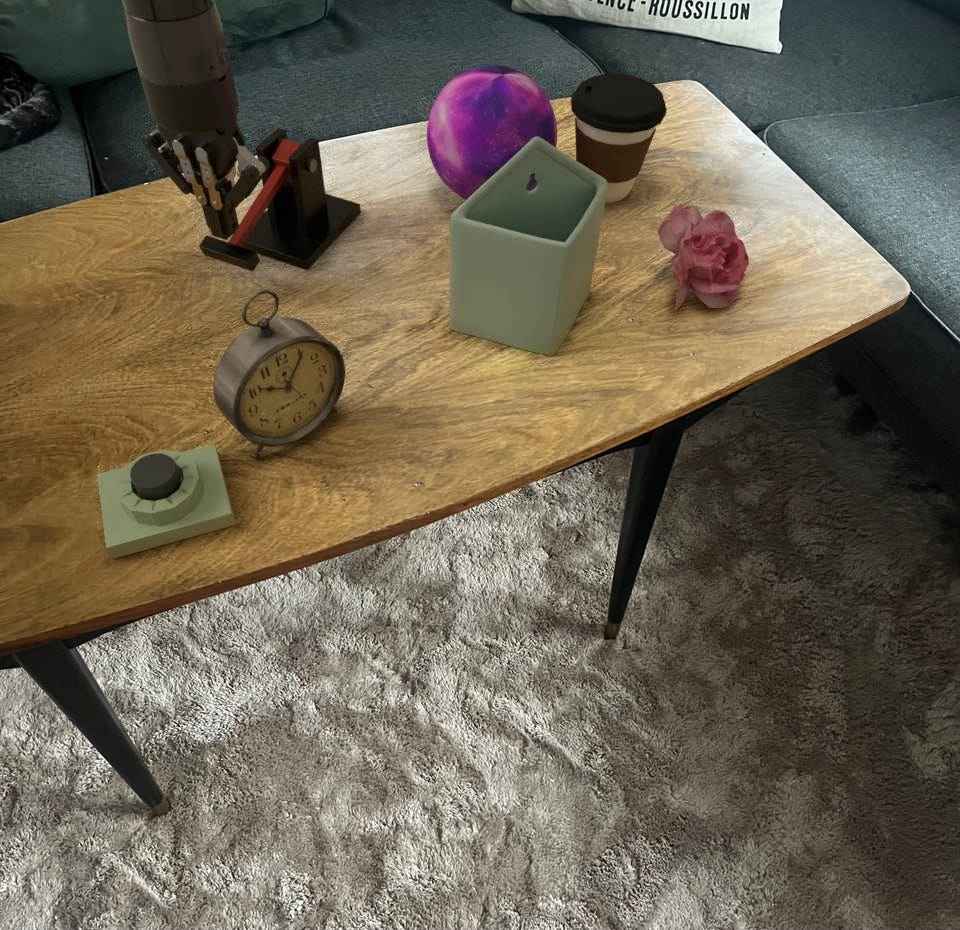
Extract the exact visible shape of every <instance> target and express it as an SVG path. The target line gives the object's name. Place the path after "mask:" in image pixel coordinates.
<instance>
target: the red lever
mask: <svg viewBox="0 0 960 930" xmlns="http://www.w3.org/2000/svg"><path fill="white" fill-rule="evenodd" d="M287 139H288V138H287ZM287 139H283V140H282V142H281V144H280V145H279V147H278V148H277V150H276V151H275V153H274V154H273V156H272V160H273V163H274V165H275V167H276V168H275V169H274V171H273V172H272V174H271V175H270V177H269V179H268V180H267V182H266V183H265V185H264V186H263V185H262V188H261V189H260V191H259V192H258V194H257V196H256V197H255V199H254V200H253V202H252V203H251V205H250V207H249V208H248V210H247V211H246V213H245V215H244V216H243V218H242V219H241V220H240V222H239V227H238V229H237V230H236V232H235V233H234V234H233V235H232V236H230V237H229V239H228V240H227V241H226V240H223V239H220V238H217V237H214V236H210V235H205V236H204V237H203V239H202V240H201V243H200V244H199V246H198V247H199V250H200V252H202V254H203V255H204V256H205V257H208V258H211V259H214V260H217V261H219V262H223V263H226V264H229V265H231V266H235V267H238V268H241V269H244V270H247V271H250V272H254V271H255V270H256V268H257V266H258V265H259V264H260V262H261V259H260V257H259V256H258V255H259V254H257V253H256V252H255V251H253V250H250V249H247V248H244V247H243V245H244V244H245V242H246V241H247V239H248V237H249V236H250V234H251V233H252V231H253V229H254V228H255V226H256V225H257V223H258V221H259V220H260V218H261V217H262V215H263V214H264V212H265V211H266V210H268V209H267V207H268V206H269V204H270V202H271V201H272V199H273V198H274V196H275V194H276V193H277V191H278V190H279V188H280V186H281V185H282V183H283V182H284V180H285V179H286V177H287V176H288V177H291V171H290V165H289V158H288V157H289V156H290V155H291V154H292V153H293V152H294V151H296V150H297V149H298V148H299V147H300V146H301V145H302V143H300V142H297V141H294V140H290V139H288V140H287Z"/></svg>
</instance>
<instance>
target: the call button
mask: <svg viewBox="0 0 960 930" xmlns="http://www.w3.org/2000/svg"><path fill="white" fill-rule="evenodd" d="M130 477H131V480H132V482H133V484H134V486H135V488H136V490H137V492H138V494H139V495H140V496H141V497H142V498H144V499H147V500H153V501H154V500H161V499H165V498H167V497H169V496H171V495H172V494H173V493H175V492H176V491H177V489H178V488H179V486H180V484H181V476H180V473H179V471H178V468H177V466H176V463H175V461H174V460H173V459H172V458H171V457H170V456H168V455H165V454H160V453H156V454H150V455H147V456H144V457H142V458H141V459H139V460H138V461H137V462H136V463H135V464H134V465H133V467H132V469H131V472H130Z"/></svg>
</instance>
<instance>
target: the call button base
mask: <svg viewBox="0 0 960 930" xmlns="http://www.w3.org/2000/svg"><path fill="white" fill-rule="evenodd" d="M156 453H160V454H165V455H168V456H170V457H171V458H172V459H173V460H174V461H175V463H176V466H177V468H178V471H179V473H180V476H181V484H180V486H179V488H178V489H177V491H176V492H175V493H173V494H172V495H171V496H169V497H167V498H165V499H161V500H154V501H153V500H147V499H144V498H142V497H141V496H140V495H139V494H138V492H137V490H136V488H135V486H134V484H133V482H132V480H131V477H130V472H131V469H132V467H133V465H134V464H135V463H136V462H137V461H138V460H139V459H141V458H142V457H144V456H147V455H150V454H156ZM96 477H97V484H98V494H99V500H100V501H99V502H100V507H101V508H100V509H101V517H102V523H103V524H102V525H103V533H104V541H105V547H106V550H107V551H108V553H109V555H110V556H111V558H112V560H115V559H118V558H122V557H125V556H130V555H133V554H136V553H140V552H143V551H147V550H151V549H153V548H157V547H162V546H164V545H169V544H171V543H175V542H179V541H182V540H186V539H190V538H194V537H197V536H200V535H205V534H207V533H211V532H215V531H218V530H222V529H226V528H230V527H233V526H236V525H237V523H236V519H235V515H234V510H233V507H232V502H231V499H230V493H229V490H228V486H227V482H226V478H225V474H224V470H223V466H222V461H221V457H220V454H219V451H218V448H217V445H216V444H215V443H214V444H210V445H206V446H201V447H198V448H194V449H189V450H186V451H177V450H169V449H159V450H154V451H150V452H147V453H143V454H141V455H140V456H138V457H137V458H135V459H134V460H132V461H131V462H129V463H128V464H127V465H125V466H123V467H119V468H114V469H111V470H107V471H103V472H100V473H99V472H98V473H96Z"/></svg>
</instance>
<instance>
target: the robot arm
mask: <svg viewBox="0 0 960 930" xmlns="http://www.w3.org/2000/svg"><path fill="white" fill-rule="evenodd" d="M121 3H122V7H123V9H124V14H125V20H126V27H127V33H128V38H129V42H130V43H129V44H130V47H131V50H132V53H133V57H134V60H135V62H136V67H137V71H138V75H139V78H140V82H141V85H142V87H143V88H142V89H143V93H144V94H145V99H146V102H147V106H148V109H149V113H150V116H151V118H152V120H153V121H154V122H155V123H156V125H157V128H156V129H155V130H153V131H152V132H151V133H149V134H147V136H145V137H144V138H143V139H142V145H143V147H144V148H145V149H146V150H147V151H148V153H149V154H150V155H151V156H152V157H153V159H154V160H155V161H156V162H157V164H158V165H159V166H160V167H161V169H162V170H163V171H164V172H165V174H166V175H167V176H168V178H169V179H170V180H171V181H172V182H173V183H174V184H175V186H176V187H177V188H178V190H180V192H181V193H182V194H184V195H189V194H191V195H193V196H194V197H195V199H196V201H197V202H198V204H200V205H201V208H202V211H203V215H204V219H205V224H206V226H207V228H208V230H209V231H210V233H211V237H214V238H217V239H220V240H223V241H228V240H229V239H230V238H231V237H232V235H233V234H234V233H235V232H236V230H237V229H238V227H239V224H240V222H239V219H238V215H237V210H236V208H238V206H239V205H240V204H241V203H243V201H245V200H246V199H248V198H249V197H250V196H251V194H252V193H253V192H254V190H255V188H256V187H258V185H259V183H260V182H261V181H262V177H263V176H264V175H265V173H266V172H267V170H268V169H269V168H270V162H269V161H268V159H267V158H265V157H263V156H261V157H259V158H257V156H255V155H254V154H253V153H252V152H251V151H249V149H248V148H246V139H245V136H244V134H243V132H242V131H241V129H240V127H239V124H238V114H239V100H238V94H237V90H236V85H235V79H234V74H233V69H232V64H231V59H230V54H229V49H228V45H227V40H226V35H225V30H224V26H223V22H222V20H221V17H220V13H219V12H218V7H217V3H216V1H215V0H121ZM236 163H237V164H238V165H237V166H236ZM178 166H181V169H182V172H183V173H182V172H181V171H180V169H179V168H178ZM236 167H237V168H236ZM236 176H237V177H238V179H237V180H236V182H235V177H236Z"/></svg>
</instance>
